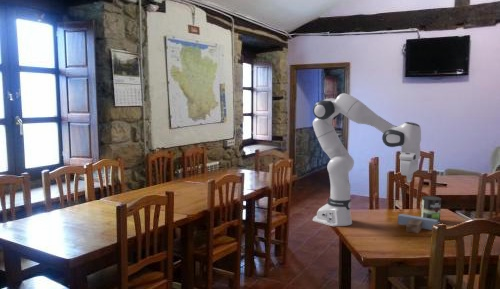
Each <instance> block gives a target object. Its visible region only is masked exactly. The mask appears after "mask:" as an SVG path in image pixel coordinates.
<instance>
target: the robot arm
mask: <svg viewBox="0 0 500 289" xmlns="http://www.w3.org/2000/svg"><path fill="white" fill-rule="evenodd" d="M312 113H313V115H314V117H315V118H314V119H313V120H312V127H313V131H314V134H315V136H316V138H317V141H318V142H319V145H320V147H321V149H322V151H323V152H324V153H325V154H326V155H327V156H328V158H329V159H330V160H329V161H328V163H327V166H326V167H327V172H328V176H329V183H330V191H329V192H330V196H329V197H328V198H326V199H325V202H327V203H326V204H324V205H322V206H321V207H319V209H318V210H317V212H316V215H314V216H313V217H312V221H313V222H315V223H319V224H322V225H323V224H324V225H327V226H330V227H346V226H351V225H352V224H353V221H352V214H351V208H352V201H351V200H352V199H351V183H350V178H349V172H351V171H352V170H353V168H354V167H355V160H354V158H353V157H352V156H351V154H350V153H349V152H348V150H347V148H346V147H345V146H344V144H343V143H342V141H341V140H340V137H339V135H338V133H337V132H336V129H335V127H334V126H333V120H336V118H338V116H339V115H340V114H342V115H343V116H345V118H347V119H349V120H350V121H352V122H354V123H356V124H359V125H367V126H369V127H370V126H371V127H373V128H375V129H376V130H378V131H380V132H381V133H382V137H381V139H382V142H383V144H384V145H385V146H387V147H388V148H396V147H401V151H400V154H399V160H400V162H399V163H400V164H399V165H400V168H399V169H400V174H401V176H406V182H407V183H411V182H412V181H413V176H414V173H415V172H417V171H418V170H419V160H420V159H421V141H422V130H421V126H420V125H419V124H418V123H416V122H412V121H410V122H409V121H405V122H403V123H402V124H401V125H398V126H397V125H394V124H392V123H391V122H389V121H387V120H386V119H385V118H383V117H381V116H379V115H378V114H377V113H376V112H374V111H373V110H372V109H371V108H370V107H368V106H367V105H366V104H365V103H364V102H362V101H361V100H359V99H358V98H356V97H354V96H353V95H351V94H348V93H345V92H343V93H339V95H338V96H337V97H331V98H325V99H323V100H318V101H317V102H316V103H315V104H314V105H313V108H312Z"/></svg>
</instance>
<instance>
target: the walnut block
mask: <svg viewBox="0 0 500 289" xmlns="http://www.w3.org/2000/svg"><path fill="white" fill-rule="evenodd" d="M405 226H406V227H405V231H406V232H409V233H415V234H419V233H420V232H421V230H422V229H423V228H422V221H421V220H414V219H410V220H409V221H408V222H407V224H406V225H405Z"/></svg>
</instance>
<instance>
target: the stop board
mask: <svg viewBox="0 0 500 289" xmlns="http://www.w3.org/2000/svg"><path fill="white" fill-rule="evenodd" d="M410 219H414V220H421V221H422V229H425V230H431V231H433V230H432V226H433V225H434V224H438V220H435V219H429V218H423V217H421V216H417V215H416V216H415V215H410V214H404V213H399V214H398V215H397V225H401V226H406V224H407V222H408V221H409V220H410Z"/></svg>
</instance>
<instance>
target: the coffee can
mask: <svg viewBox="0 0 500 289" xmlns="http://www.w3.org/2000/svg"><path fill="white" fill-rule="evenodd" d="M441 205H442V197H439V196H435V195H423V196H422V197H421V210H420V212H421V215H420V217H423V218H429V219H435V220H438V223H439V224H440V223H441V212H442V211H441V210H442V209H441V208H442V207H441Z"/></svg>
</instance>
